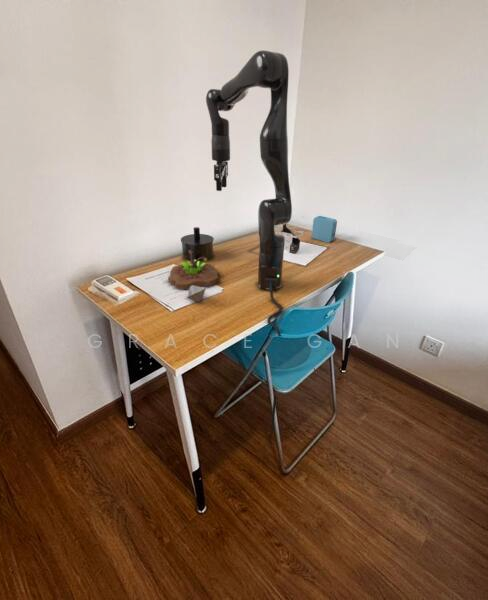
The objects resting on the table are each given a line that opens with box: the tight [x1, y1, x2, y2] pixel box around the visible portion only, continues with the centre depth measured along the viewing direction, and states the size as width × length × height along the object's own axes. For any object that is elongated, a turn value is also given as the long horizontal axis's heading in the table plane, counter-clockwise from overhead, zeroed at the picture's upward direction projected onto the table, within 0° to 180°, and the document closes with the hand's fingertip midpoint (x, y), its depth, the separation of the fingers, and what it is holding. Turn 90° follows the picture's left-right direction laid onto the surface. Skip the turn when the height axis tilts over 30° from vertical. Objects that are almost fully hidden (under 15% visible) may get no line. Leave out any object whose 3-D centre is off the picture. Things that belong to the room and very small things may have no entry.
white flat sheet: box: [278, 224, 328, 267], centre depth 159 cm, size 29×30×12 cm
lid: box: [180, 226, 214, 246], centre depth 144 cm, size 15×15×6 cm
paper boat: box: [187, 285, 212, 303], centre depth 114 cm, size 12×6×9 cm
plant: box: [168, 250, 220, 290], centre depth 128 cm, size 20×20×11 cm
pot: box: [181, 241, 214, 263], centre depth 147 cm, size 14×14×8 cm
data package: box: [311, 215, 338, 244], centre depth 175 cm, size 12×4×12 cm, turn 51°
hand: (221, 188), depth 139 cm, fingers open, 8 cm apart
